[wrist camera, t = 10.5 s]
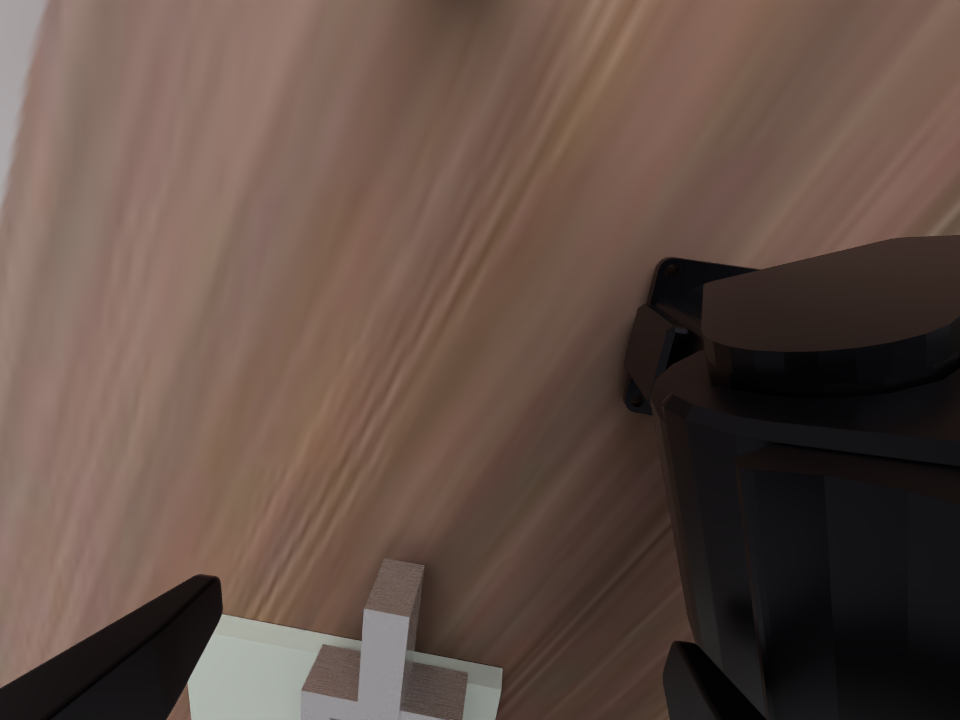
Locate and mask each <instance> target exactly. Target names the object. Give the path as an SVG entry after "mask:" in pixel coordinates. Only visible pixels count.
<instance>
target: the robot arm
mask: <svg viewBox="0 0 960 720" xmlns="http://www.w3.org/2000/svg"><path fill="white" fill-rule="evenodd" d="M672 264H673V265H674V266H675V273H674V274H673V275H672V276H668V277H667V276H666V274H665V269H666V268H667V266H669V265H672ZM624 366H625V368H626V369H627V371H628V372H629V377H628V381H627V385H626V389H625V392H624V399H623V400H624V403H625V405H626V407H627V408H628V409H629V410H630V411H632V412H636V413H642V414H648V415H653V419H654V425H655V430H656V436H657V442H658V448H659V454H660V459H661V465H662V471H663V477H664V482H665V488H666V494H667V500H668V505H669V511H670V517H671V523H672V529H673V534H674V540H675V546H676V552H677V557H678V563H679V569H680V575H681V581H682V586H683V592H684V598H685V604H686V609H687V615H688V620H689V623H690V627H691V630H692V633H693V636H694V639H695V642H696V644H695V643H691V642H684V641H674V642H673V643H672V645H671V648H670V651H669V654H668V657H667V661H666V664H665V667H664V671H663V685H664V691H665V696H666V701H667V706H668V711H669V717H670V720H960V235H952V236H928V237H905V238H895V239H889V240H884V241H880V242H876V243H872V244H867V245H863V246H859V247H855V248H851V249H846V250H842V251H838V252H834V253H830V254H825V255H821V256H817V257H813V258H808V259H804V260H800V261H796V262H792V263H787V264H783V265H779V266H775V267H771V268H766V269H762V270H760V269H753V268H746V267H739V266H732V265H725V264H718V263H711V262H703V261H696V260H689V259H682V258H675V257H667V258H664V259H662V260H661V261H660V262H659V263H658V265H657V267H656V270H655V274H654V278H653V282H652V286H651V289H650V293H649V297H648V301H647V304H644V305H642V306H641V307H639V308H638V310H637V314H636V318H635V322H634V326H633V330H632V334H631V338H630V342H629V346H628V350H627V354H626V358H625V362H624ZM635 396H640V397H641V400H640V402H638V403H632V402H631V400H632V398H634V397H635ZM222 611H223V604H222V592H221V582H220V579H219V578H218V577H216V576H210V575H203V574H199V575H196V576H193V577H192V578H190V579H188V580H186V581H185V582H183V583H181V584H179V585H178V586H176V587H174V588H173V589H171V590H169V591H167V592H166V593H164V594H162V595H160V596H159V597H157V598H155V599H154V600H152V601H150V602H148V603H147V604H145V605H143V606H141V607H140V608H138V609H136V610H135V611H133V612H131V613H129V614H128V615H126V616H124V617H123V618H121V619H119V620H117V621H116V622H114V623H112V624H110V625H109V626H107V627H105V628H104V629H102V630H100V631H98V632H97V633H95V634H93V635H91V636H90V637H88V638H86V639H85V640H83V641H81V642H79V643H78V644H76V645H74V646H72V647H71V648H69V649H67V650H66V651H64V652H62V653H60V654H59V655H57V656H55V657H54V658H52V659H50V660H48V661H47V662H45V663H43V664H41V665H40V666H38V667H36V668H35V669H33V670H31V671H29V672H28V673H26V674H24V675H22V676H21V677H19V678H17V679H16V680H14V681H12V682H10V683H9V684H7V685H5V686H3V687H2V688H0V720H166V719H167V717H168V716H169V714H170V713H171V711H172V709H173V708H174V706H175V704H176V702H177V701H178V699H179V697H180V695H181V693H182V692H183V690H184V688H185V686H186V684H187V682H188V680H189V678H190V676H191V674H192V673H193V671H194V669H195V667H196V665H197V663H198V661H199V659H200V657H201V655H202V654H203V652H204V650H205V648H206V646H207V644H208V642H209V640H210V638H211V636H212V635H213V633H214V631H215V629H216V627H217V625H218V623H219V621H220V618H221V615H222Z"/></svg>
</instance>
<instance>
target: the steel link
mask: <svg viewBox="0 0 960 720" xmlns="http://www.w3.org/2000/svg"><path fill="white" fill-rule="evenodd" d="M424 567H425V565H420V564H414V563H409V562H404V561H398V560H393V559H387V558H385V559H384V561H383V564H382V566H381V569H380V571H379V574H378V576H377V578H376V581H375V583H374V586H373V588H372V590H371V593H370V595H369V598H368V600H367V602H366V605H365V607H364V615H363V630H362V645H361V651H356V650H351V649H346V648H340V647H335V646H330V645H325V644H323V645H322V647H321V649H320V651H319V653H318V656H317V658H316V660H315V662H314V664H313V666H312V668H311V670H310V672H309V674H308V677H307V679H306V681H305V683H304V685H303V687H302V689H301V720H462V719H463V711H464V703H465V695H466V688H467V680H468V673H467V672H462V671H457V670H452V669H447V668H442V667H437V666H432V665H427V664H422V663H417V662H413V660H414V651H415V643H416V635H417V626H418V618H419V609H420V601H421V592H422V584H423V576H424Z"/></svg>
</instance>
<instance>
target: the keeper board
mask: <svg viewBox="0 0 960 720" xmlns="http://www.w3.org/2000/svg"><path fill="white" fill-rule="evenodd" d="M323 644H325V645H330V646H335V647H340V648H346V649H351V650H356V651H361V645H362V641H358V640H353V639H348V638H343V637H338V636H333V635H327V634H322V633H317V632H312V631H307V630H301V629H296V628H291V627H286V626H281V625H276V624H270V623H265V622H260V621H255V620H250V619H245V618H239V617H234V616H229V615H224V614H222V615H221V618H220V621H219V623H218V625H217V627H216V629H215V631H214V633H213V635H212V636H211V638H210V640H209V642H208V644H207V646H206V648H205V650H204V652H203V654H202V655H201V657H200V659H199V661H198V663H197V665H196V667H195V669H194V671H193V673H192V674H191V676H190V678H189V680H188V690H189V700H190V709H191V718H192V720H301V689H302V687H303V685H304V683H305V681H306V679H307V677H308V674H309V672H310V670H311V668H312V666H313V664H314V662H315V660H316V658H317V656H318V653H319V651H320V649H321V647H322V645H323ZM413 662H417V663H422V664H427V665H432V666H437V667H442V668H447V669H452V670H457V671H462V672H467V673H468V680H467V688H466V695H465V703H464V711H463V719H462V720H495V719H496V714H497V709H498V704H499V699H500V695H501V689H502V670H503V668H498V667H493V666H488V665H483V664H478V663H472V662H467V661H462V660H457V659H452V658H446V657H441V656H436V655H431V654H426V653H421V652H415V651H414V660H413Z"/></svg>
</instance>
